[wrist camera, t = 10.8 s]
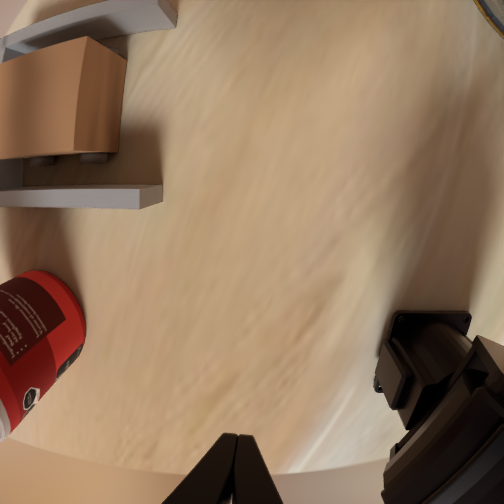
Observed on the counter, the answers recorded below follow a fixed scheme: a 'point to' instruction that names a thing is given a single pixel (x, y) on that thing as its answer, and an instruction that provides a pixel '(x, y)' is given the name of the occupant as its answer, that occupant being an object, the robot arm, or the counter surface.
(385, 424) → the counter surface
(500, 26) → the apothecary jar
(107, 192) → the dock
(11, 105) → the brown toy brick
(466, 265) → the counter surface
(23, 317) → the canned food
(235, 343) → the counter surface
